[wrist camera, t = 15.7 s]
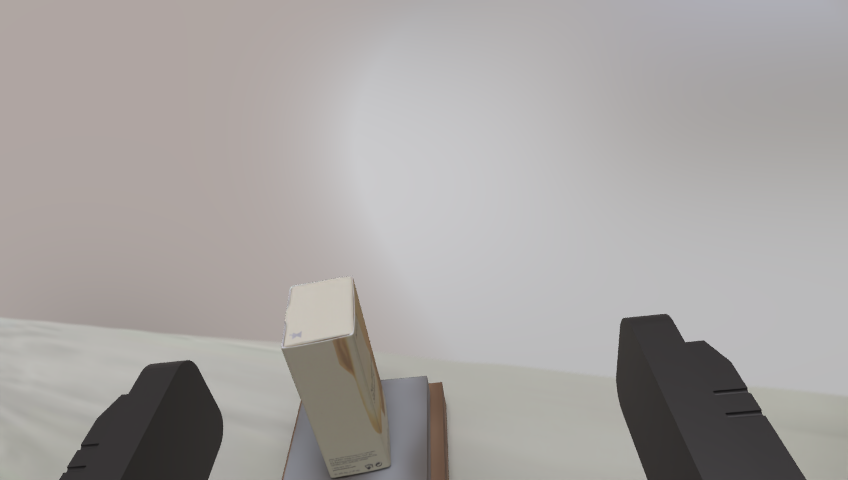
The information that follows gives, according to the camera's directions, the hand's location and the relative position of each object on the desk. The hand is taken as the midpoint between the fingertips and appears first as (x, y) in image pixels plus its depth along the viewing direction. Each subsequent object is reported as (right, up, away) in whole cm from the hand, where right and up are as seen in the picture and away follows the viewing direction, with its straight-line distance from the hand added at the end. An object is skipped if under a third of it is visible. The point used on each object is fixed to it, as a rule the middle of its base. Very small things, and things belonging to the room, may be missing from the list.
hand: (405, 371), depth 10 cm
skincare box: (-4, -12, +29) cm, 32 cm away
